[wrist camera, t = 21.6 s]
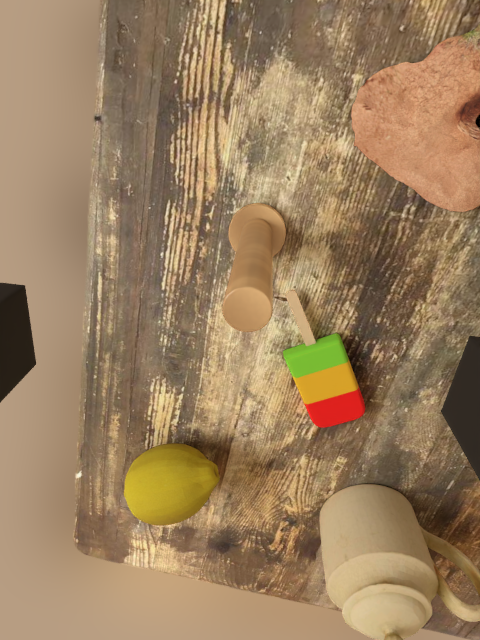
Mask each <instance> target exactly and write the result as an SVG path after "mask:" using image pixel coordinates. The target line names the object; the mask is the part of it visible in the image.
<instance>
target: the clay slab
mask: <svg viewBox="0 0 480 640" xmlns="http://www.w3.org/2000/svg"><path fill="white" fill-rule="evenodd" d="M479 114H480V24H479V25H478V27H476V28H475V29H474V30H472V31H470V32H468V33H466V34H463V35H460V36H455V37H450V38H448V39H446V40H444V41H442V42H441V43H439V44H438V45H437V46H435V48H434V49H433V51H432V52H431V53H430V54H429V55H428V56H427V57H426V58H425V59H424V60H423V61H421V62H417V63H413V64H411V63H409V62H403V63H400V64H398V65H395V66H391V67H387V68H384V69H382V70H381V71H379V72H377V73H376V74H374V75H373V76H371V77H370V78H369V79H368V80H366V82H365V84H364V85H363V86H361V87H360V89H359V91H358V93H357V96H356V100H355V103H354V104H353V105H352V113H351V118H352V129H353V130H354V132H355V142H354V146H357V147H358V148H359V150H361V151H362V152H363V153H364V154H365V155H366V157H367V158H368V159H371V160H373V161H374V162H375V163H376V164H377V165H378V166H380V167H381V168H382V169H383V170H384V171H386V172H387V173H388V174H389V175H390V176H392V177H394V179H396V180H398V181H400V182H404V184H405V185H407V186H410V187H411V188H413V189H414V190H415V191H416V192H417V193H418V194H420V195H421V197H422V198H424V199H425V200H426V201H429V202H430V203H432V204H434V205H437V206H439V207H441V208H444V209H448V210H450V211H458V212H464V211H468V210H472V209H474V208H476V207H477V206H479V205H480V130H479V128H478V127H477V126H476V123H475V121H476V118H477V117H478V115H479Z"/></svg>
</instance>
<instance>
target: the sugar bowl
mask: <svg viewBox="0 0 480 640" xmlns="http://www.w3.org/2000/svg"><path fill="white" fill-rule="evenodd" d="M319 521H320V533H321V545H322V557H323V565H324V573H325V580H326V587H327V592H328V595H329V597H330V599H331V600H332V602H333V603H334V604H335V605H336V606H337V607H338V608H340V609H341V610H342V614H343V617H344V620H345V622H346V624H347V625H349V626H350V627H352V628H353V629H355V630H357V631H359V632H361V633H363V634H365V635H366V636H368V637H371V638H373V639H377V640H403V639H405V638H407V637H410V636H411V635H413V634H415V633H416V632H417V631H418V630H419V629H420V628H421V627H423V626H424V625H425V624H426V622H427V621H428V620H429V618H430V617H431V615H432V607H431V603H430V602H431V601H432V600H433V598H434V597H435V595H436V594H437V593H438V595H439V596H440V597H441V599H442V601H443V602H444V604H445V605H446V606H447V607H448V608H449V609H450V610H451V611H452V612H453V613H454V614H455V615H456V616H458V617H459V618H461V619H463V620H466V621H470V622H474V621H480V603H479V604H478V605H469V604H467V603H465V602H463V601H461V600H460V599H459V598H458V597H457V596H456V595H455V594H454V593H453V591H452V590H451V589H450V587H449V586H448V584H447V583H446V581H445V580H444V578H443V577H442V575H441V573H440V572H439V570H438V569H437V567H436V565H435V564H434V562H433V560H432V559H431V556H430V553H429V550H428V548H430V549H432V550H434V551H436V552H438V553H440V554H442V555H443V556H444V557H446V558H447V559H449V560H450V561H451V562H453V563H454V564H455V565H456V566H458V567H459V568H460V569H461V570H462V571H463V572H464V573H465V574H466V575H467V576H468V578H469V579H470V581H471V582H472V584H473V585H474V587H475V588H476V590H477V592H478V594H479V597H480V571H479V569H478V568H477V567H476V565H475V564H474V563H473V562H472V561H471V560H470V559H469V558H468V557H467V556H466V555H465V554H464V553H462V552H461V551H460V550H459V549H457V548H456V547H454V546H453V545H451V544H450V543H448V542H447V541H445V540H443V539H441V538H439V537H437V536H435V535H433V534H431V533H428V532H427V531H426V530H424V529H423V528H422V527H421V526H420V525H419V524H418V521H417V518H416V516H415V513H414V510H413V508H412V506H411V504H410V502H409V501H408V500H407V499H406V498H405V497H404V496H403V495H402V494H401V493H399V492H398V491H396V490H394V489H391V488H389V487H386V486H382V485H376V484H360V485H354V486H350V487H347V488H344V489H342V490H340V491H338V492H336V493H335V494H333V495H332V496H331V497H329V498H328V499H327V501H326V502H325V503H324V505H323V507H322V508H321V511H320V518H319ZM427 547H428V548H427Z"/></svg>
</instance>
